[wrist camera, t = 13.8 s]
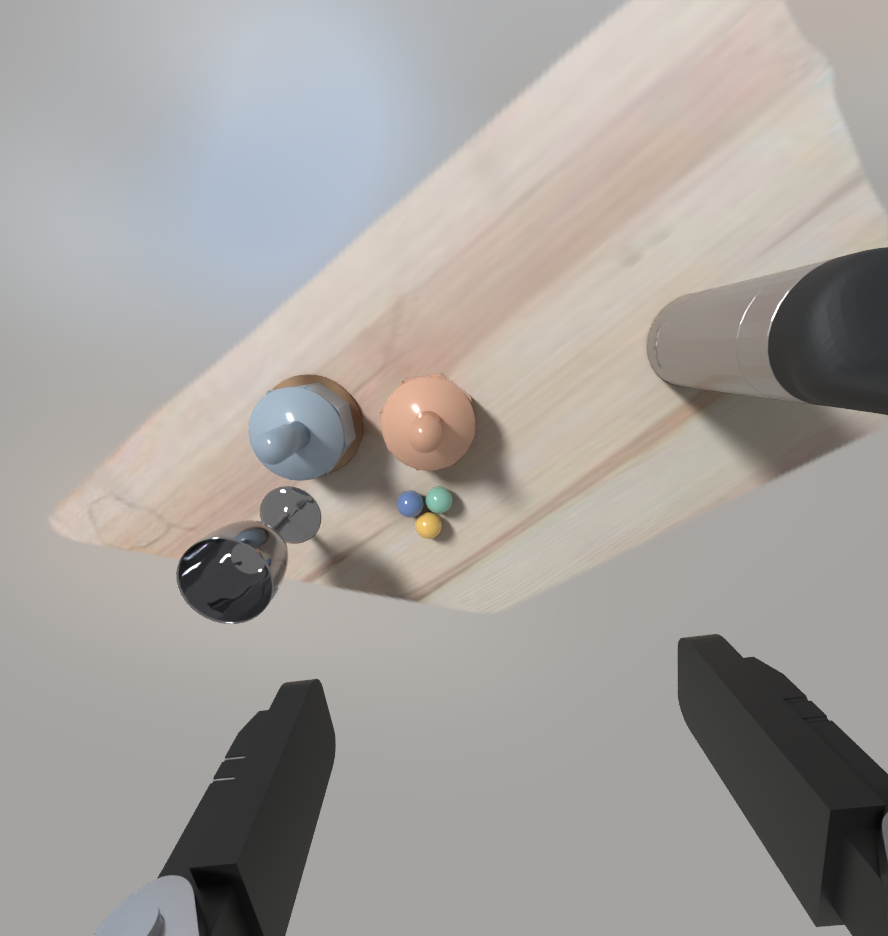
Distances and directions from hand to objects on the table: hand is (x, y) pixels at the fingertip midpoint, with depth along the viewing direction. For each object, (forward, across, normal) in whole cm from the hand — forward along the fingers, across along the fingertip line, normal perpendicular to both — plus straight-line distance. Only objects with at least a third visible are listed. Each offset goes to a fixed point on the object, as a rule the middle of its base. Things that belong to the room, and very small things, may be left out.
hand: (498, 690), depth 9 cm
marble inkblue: (+38, +7, +8) cm, 40 cm away
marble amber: (+38, +5, +11) cm, 40 cm away
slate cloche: (+38, +16, -2) cm, 41 cm away
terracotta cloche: (+38, +3, -1) cm, 38 cm away
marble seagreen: (+38, +3, +8) cm, 39 cm away
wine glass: (+38, +21, +8) cm, 44 cm away
